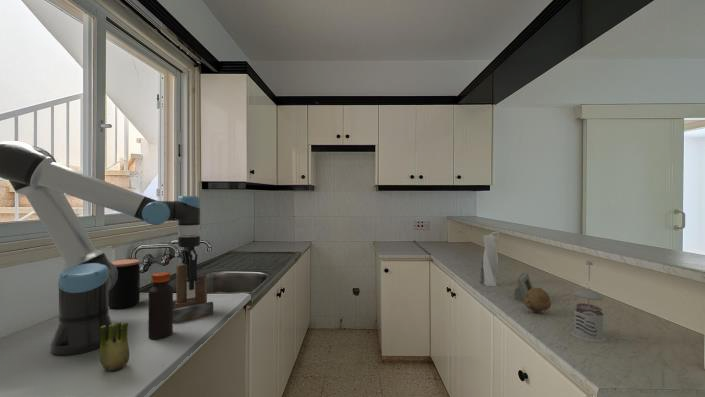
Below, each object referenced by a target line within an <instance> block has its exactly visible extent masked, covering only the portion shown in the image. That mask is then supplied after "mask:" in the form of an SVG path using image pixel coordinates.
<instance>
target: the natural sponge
mask: <svg viewBox="0 0 705 397" xmlns="http://www.w3.org/2000/svg"><path fill="white" fill-rule="evenodd" d="M523 302H524V303H523V304H524V306H525V307H526V308H528V309H530V310H531V311H532V312H534V313H539V314H540V313H542V312H543V311H547V310H548V309H550V308H551V306H552V300H551V298H550V296H549V294H548V292H546V290H544V289H543V288H541V287H533V288H531V289H530V290H529V291H528V292H527V294H526V297H525V300H524V301H523Z"/></svg>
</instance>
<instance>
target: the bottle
mask: <svg viewBox="0 0 705 397" xmlns="http://www.w3.org/2000/svg"><path fill="white" fill-rule="evenodd" d="M170 274H171V273H169V272H166V271H165V272H157V273H154V274H152V275H151V282H152V287H151V288H150V289H149V290H148V319H147V320H148V324H147V325H148V330H147V331H148V338H149V340H161V339H165V338H168V337H170V336H171V335H172V334H173V332H174V331H173V330H174V325H173V324H174V323H173V300H174V291H173V290H174V288H173V286H171V285H170V284H169V282H170V279H171V278H170Z"/></svg>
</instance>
